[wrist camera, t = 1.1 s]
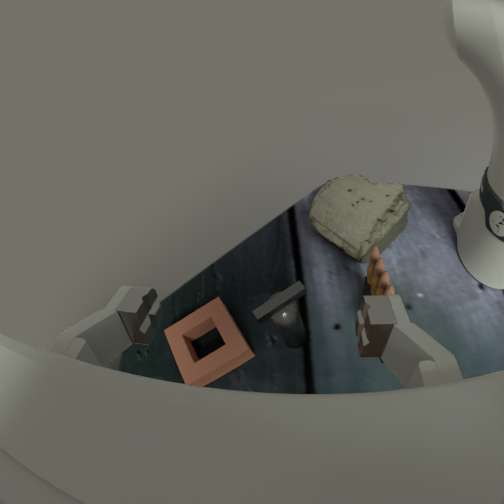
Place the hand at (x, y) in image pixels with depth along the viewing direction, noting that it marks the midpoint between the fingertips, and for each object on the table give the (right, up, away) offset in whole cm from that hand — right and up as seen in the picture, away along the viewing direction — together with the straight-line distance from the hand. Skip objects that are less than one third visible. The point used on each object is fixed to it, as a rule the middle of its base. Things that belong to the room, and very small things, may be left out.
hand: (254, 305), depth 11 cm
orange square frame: (-6, -12, +30) cm, 33 cm away
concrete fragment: (+18, +5, +36) cm, 40 cm away
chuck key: (+6, -10, +27) cm, 30 cm away
